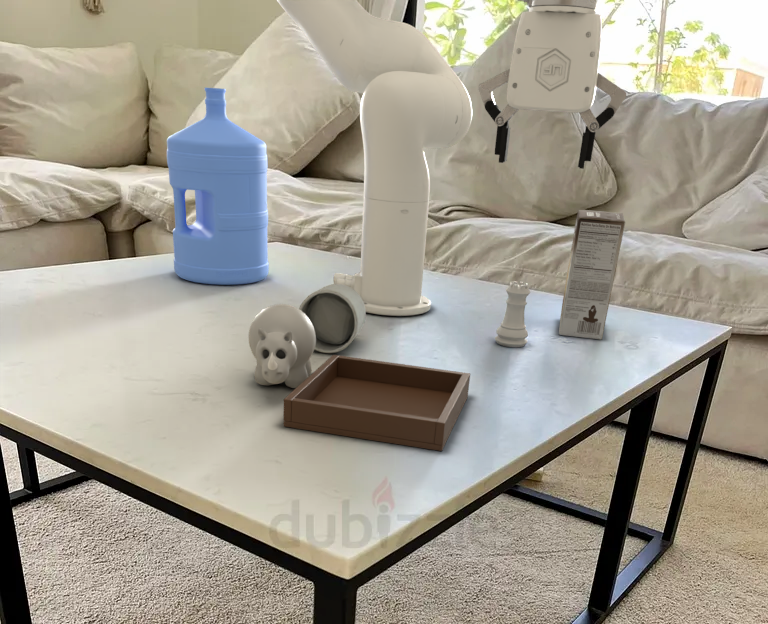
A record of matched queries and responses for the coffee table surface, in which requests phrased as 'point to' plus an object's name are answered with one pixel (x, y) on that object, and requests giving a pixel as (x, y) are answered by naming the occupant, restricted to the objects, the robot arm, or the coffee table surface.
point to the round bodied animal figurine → (282, 345)
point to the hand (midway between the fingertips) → (541, 164)
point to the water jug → (219, 199)
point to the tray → (379, 402)
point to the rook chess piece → (514, 317)
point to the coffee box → (591, 273)
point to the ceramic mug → (334, 316)
